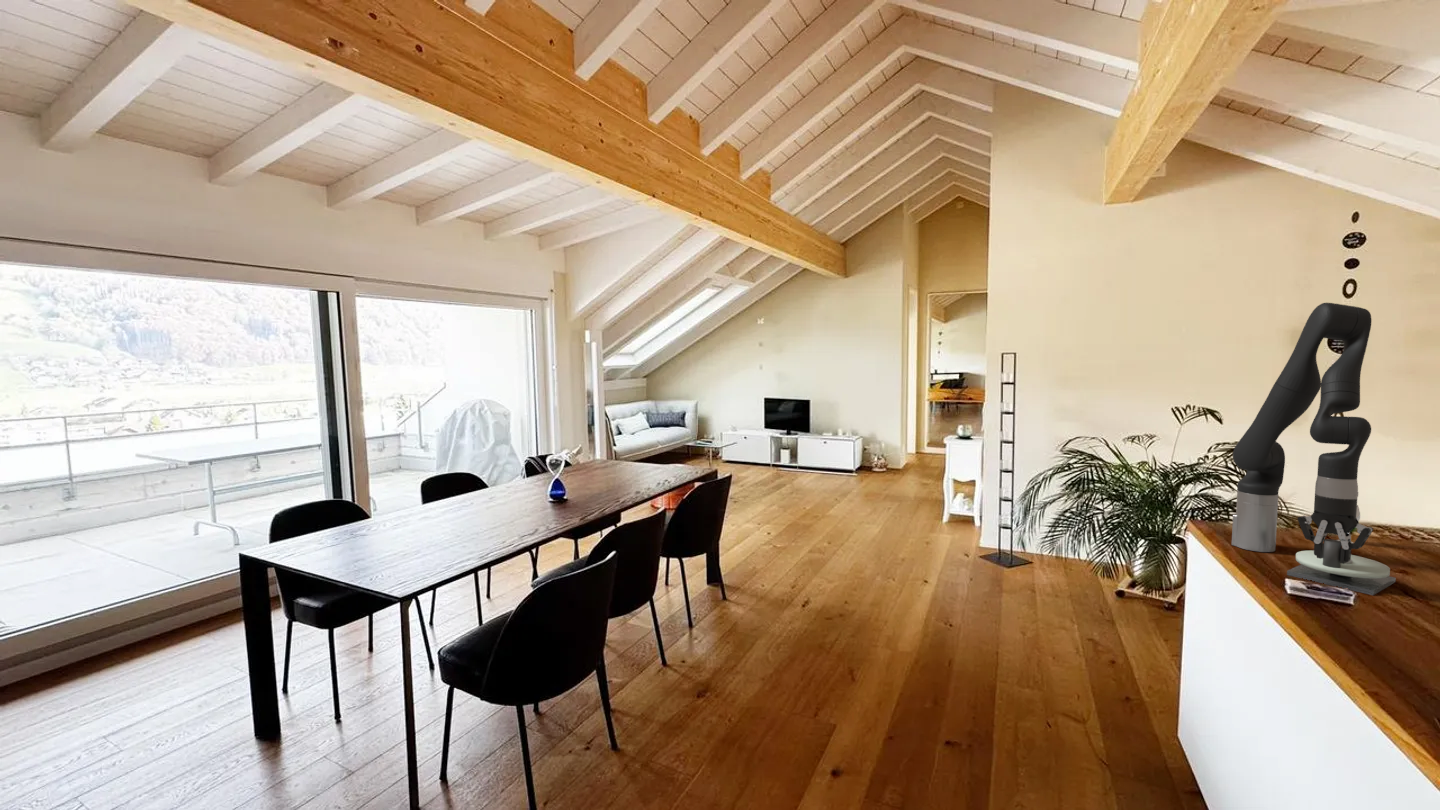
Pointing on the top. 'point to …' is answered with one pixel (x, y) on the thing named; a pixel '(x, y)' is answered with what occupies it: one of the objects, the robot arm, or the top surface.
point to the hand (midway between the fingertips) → (1331, 560)
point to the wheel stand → (1342, 580)
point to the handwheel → (1332, 563)
